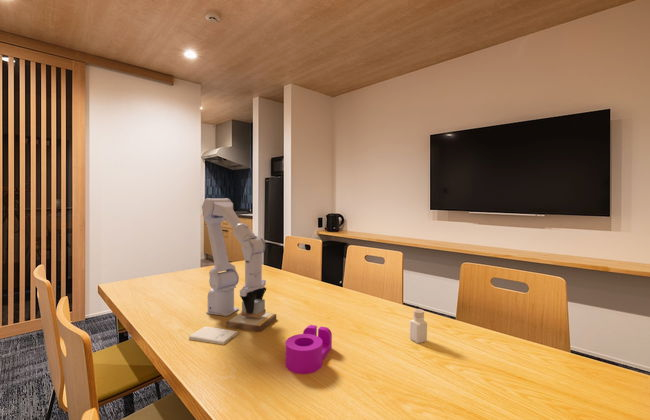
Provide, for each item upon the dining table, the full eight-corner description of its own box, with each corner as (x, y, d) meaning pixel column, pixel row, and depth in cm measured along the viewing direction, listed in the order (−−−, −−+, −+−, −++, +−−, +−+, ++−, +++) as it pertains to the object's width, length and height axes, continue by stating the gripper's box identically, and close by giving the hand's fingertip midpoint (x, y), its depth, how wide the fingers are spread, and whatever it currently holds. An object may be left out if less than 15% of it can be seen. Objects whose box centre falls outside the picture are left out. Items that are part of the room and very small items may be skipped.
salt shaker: (417, 344, 98) (418, 314, 98) (408, 339, 102) (409, 309, 101) (427, 341, 100) (428, 311, 100) (418, 336, 104) (419, 307, 103)
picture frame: (226, 326, 110) (226, 321, 110) (245, 314, 121) (245, 309, 121) (260, 331, 106) (260, 325, 106) (276, 318, 118) (276, 313, 117)
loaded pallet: (241, 315, 112) (241, 301, 112) (248, 311, 117) (248, 297, 116) (259, 318, 110) (259, 303, 110) (265, 313, 115) (265, 299, 114)
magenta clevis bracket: (314, 378, 80) (314, 353, 80) (278, 370, 83) (279, 346, 83) (334, 349, 95) (334, 328, 95) (303, 343, 98) (303, 323, 98)
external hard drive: (205, 330, 108) (238, 335, 105) (188, 341, 100) (223, 346, 97) (205, 325, 108) (238, 330, 105) (188, 336, 100) (223, 341, 97)
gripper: (253, 278, 105) (253, 319, 105) (273, 268, 118) (272, 305, 119) (234, 276, 107) (234, 316, 107) (255, 267, 121) (255, 303, 121)
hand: (253, 310), depth 113 cm, fingers closed on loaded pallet, 5 cm apart
